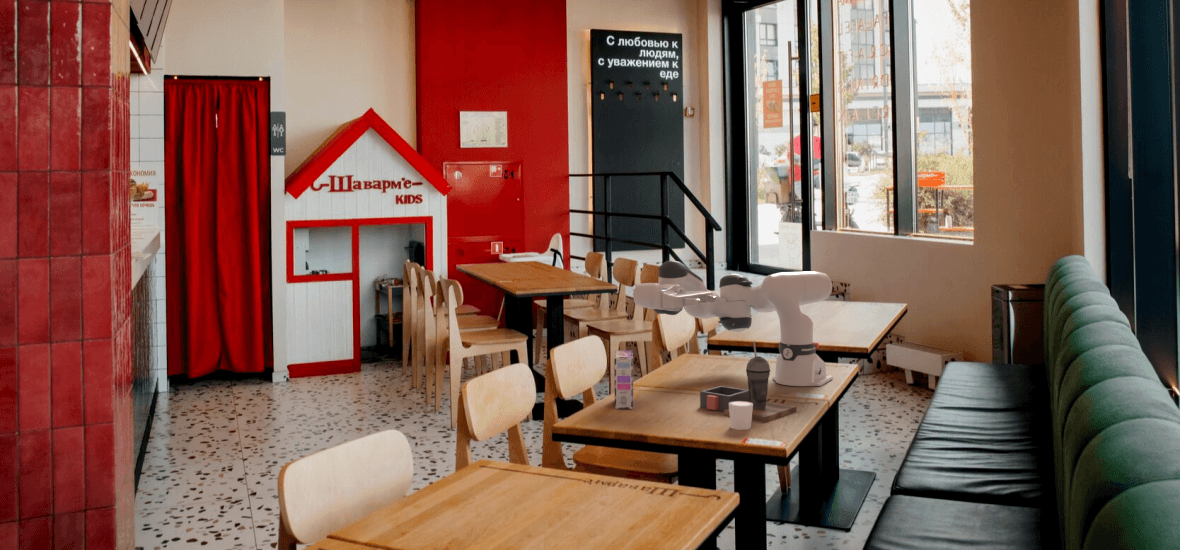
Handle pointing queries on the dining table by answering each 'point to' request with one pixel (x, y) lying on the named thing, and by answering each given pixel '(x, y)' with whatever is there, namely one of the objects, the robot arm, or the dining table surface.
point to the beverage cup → (758, 381)
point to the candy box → (623, 379)
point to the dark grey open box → (722, 397)
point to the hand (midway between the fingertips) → (707, 300)
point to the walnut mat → (770, 412)
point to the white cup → (740, 415)
